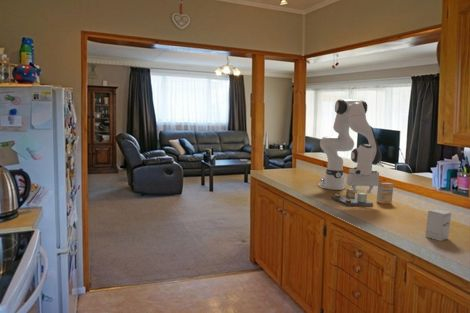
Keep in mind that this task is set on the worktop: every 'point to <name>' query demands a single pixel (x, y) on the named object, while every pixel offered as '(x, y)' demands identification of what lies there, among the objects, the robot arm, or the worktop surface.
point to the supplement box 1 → (385, 193)
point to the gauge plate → (355, 203)
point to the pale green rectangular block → (362, 197)
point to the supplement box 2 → (438, 224)
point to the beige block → (350, 193)
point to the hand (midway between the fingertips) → (361, 192)
